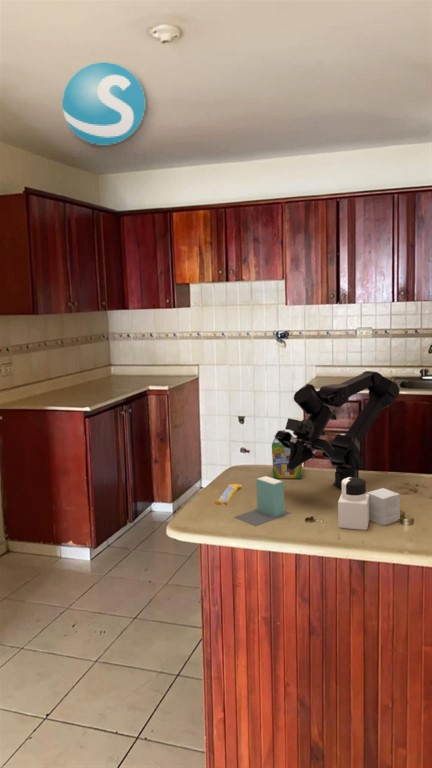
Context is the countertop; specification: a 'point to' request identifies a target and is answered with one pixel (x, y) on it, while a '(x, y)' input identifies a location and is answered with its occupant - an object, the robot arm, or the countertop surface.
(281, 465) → the chalk box
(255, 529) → the countertop surface
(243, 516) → the mat
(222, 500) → the candy bar
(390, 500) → the product box
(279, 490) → the teal box cream top
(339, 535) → the countertop surface
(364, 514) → the medicine bottle
